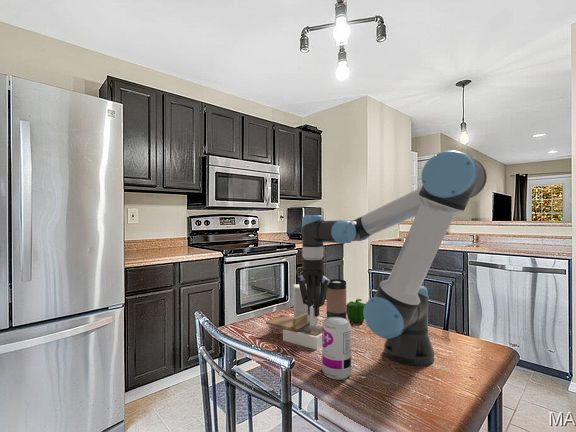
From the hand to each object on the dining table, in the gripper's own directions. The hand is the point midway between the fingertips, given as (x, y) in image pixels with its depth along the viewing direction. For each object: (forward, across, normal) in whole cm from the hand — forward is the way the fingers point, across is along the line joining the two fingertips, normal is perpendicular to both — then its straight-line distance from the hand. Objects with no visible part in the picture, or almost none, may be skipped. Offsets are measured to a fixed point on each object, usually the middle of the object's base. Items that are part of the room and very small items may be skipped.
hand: (313, 324), depth 111 cm
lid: (+2, +11, 0) cm, 11 cm away
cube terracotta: (+6, 0, -2) cm, 6 cm away
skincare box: (+6, +16, -17) cm, 24 cm away
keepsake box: (+6, +3, 0) cm, 7 cm away
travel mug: (+7, -2, -14) cm, 16 cm away
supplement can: (+7, -16, +15) cm, 23 cm away
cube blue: (+6, +6, +1) cm, 8 cm away
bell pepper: (+7, -3, -31) cm, 32 cm away
